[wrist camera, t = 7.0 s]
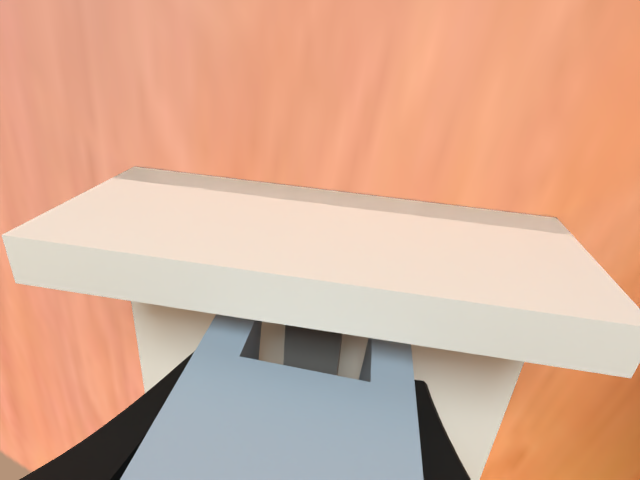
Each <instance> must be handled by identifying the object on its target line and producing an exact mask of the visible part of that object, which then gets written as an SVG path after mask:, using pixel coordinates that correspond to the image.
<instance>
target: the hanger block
mask: <svg viewBox="0 0 640 480" xmlns="http://www.w3.org/2000/svg"><path fill="white" fill-rule="evenodd" d="M261 325H262V321H257V320H251V319H244V318H238V317H232V316H225V315H219V314H216V316H215V317H214V319H213V321H212V322H211V324H210V326H209V328H208V329H207V331H206V333H205V334H204V336H203V338H202V340H201V341H200V343H199V345H198V347H197V348H196V350H195V352H194V353H193V355H192V357H191V359H190V360H189V362H188V364H187V365H186V367H185V369H184V371H183V372H182V374H181V376H180V377H179V379H178V381H177V383H176V384H175V386H174V388H173V389H172V391H171V393H170V395H169V396H168V398H167V400H166V401H165V403H164V405H163V407H162V408H161V410H160V412H159V413H158V415H157V417H156V419H155V420H154V422H153V424H152V425H151V427H150V429H149V431H148V432H147V434H146V436H145V437H144V439H143V441H142V443H141V444H140V446H139V448H138V450H137V451H136V453H135V455H134V456H133V458H132V460H131V462H130V463H129V465H128V467H127V468H126V470H125V472H124V474H123V475H122V477H121V479H120V480H424V478H423V467H422V457H421V446H420V435H419V424H418V414H417V403H416V392H415V381H414V371H413V360H412V349H411V344H406V343H400V342H393V341H387V340H380V339H374V338H368V343H367V347H366V351H365V355H364V360H363V364H362V368H361V372H360V376H359V380H357V379H352V378H347V377H342V376H337V375H332V374H327V373H321V372H316V371H311V370H306V369H301V368H296V367H291V366H286V365H281V364H276V363H271V362H266V361H261V360H259V349H260V337H261Z"/></svg>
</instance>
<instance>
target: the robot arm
mask: <svg viewBox="0 0 640 480" xmlns="http://www.w3.org/2000/svg"><path fill="white" fill-rule="evenodd" d="M194 352H195V351H194ZM194 352H193V353H194ZM193 353H192V354H190V355H189V356H188V357H187V358H186V359H185V360H183V361H182V362H181V363H180V364H179V365H178V366H177V367H175V368H174V369H173V370H172V371H171V372H170V373H169V374H167V375H166V376H165V377H164V378H163V379H162V380H160V381H159V382H158V383H157V384H156V385H155V386H153V387H152V388H151V389H150V390H149V391H147V392H146V393H145V394H144V395H143V396H141V397H140V398H139V399H138V400H137V401H135V402H134V403H133V404H132V405H130V406H129V407H128V408H127V409H125V410H124V411H123V412H121V413H120V414H119V415H117V416H116V417H115V418H113V419H112V420H111V421H109V422H108V423H107V424H106V425H104V426H103V427H102V428H100V429H99V430H97V431H96V432H95V433H93V434H92V435H90V436H89V437H88V438H86V439H85V440H83V441H82V442H80V443H79V444H77V445H76V446H74V447H73V448H71V449H70V450H68V451H67V452H65V453H63V454H62V455H60V456H59V457H57V458H56V459H54V460H52V461H50V462H49V463H47V464H45V465H44V466H42V467H40V468H38V469H37V470H35V471H33V472H32V473H30V474H28V475H27V476H25V477H23V478H21V479H20V480H120V479H121V477H122V475H123V474H124V472H125V470H126V468H127V467H128V465H129V463H130V462H131V460H132V458H133V456H134V455H135V453H136V451H137V450H138V448H139V446H140V444H141V443H142V441H143V439H144V437H145V436H146V434H147V432H148V431H149V429H150V427H151V425H152V424H153V422H154V420H155V419H156V417H157V415H158V413H159V412H160V410H161V408H162V407H163V405H164V403H165V401H166V400H167V398H168V396H169V395H170V393H171V391H172V389H173V388H174V386H175V384H176V383H177V381H178V379H179V377H180V376H181V374H182V372H183V371H184V369H185V367H186V365H187V364H188V362H189V360H190V359H191V357H192V355H193ZM414 381H415V392H416V403H417V414H418V424H419V435H420V446H421V457H422V467H423V478H424V480H471V479H470V477H469V475H468V473H467V472H466V470H465V468H464V466H463V464H462V462H461V460H460V459H459V457H458V455H457V453H456V451H455V449H454V447H453V445H452V443H451V441H450V439H449V437H448V435H447V432H446V430H445V428H444V426H443V424H442V422H441V419H440V417H439V415H438V412H437V410H436V407H435V405H434V402H433V400H432V397H431V394H430V392H429V389H428V386H427V384H426V383H425V382H424V381H422V380H414Z"/></svg>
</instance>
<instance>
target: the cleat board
mask: <svg viewBox="0 0 640 480" xmlns="http://www.w3.org/2000/svg"><path fill="white" fill-rule="evenodd" d="M2 238H3V242H4V245H5V248H6V252H7V255H8V259H9V262H10V265H11V269H12V272H13V276H14V279H15V283H18V284H25V285H31V286H38V287H44V288H50V289H57V290H63V291H70V292H76V293H83V294H89V295H96V296H102V297H109V298H115V299H122V300H128V301H131V304H132V310H133V317H134V324H135V330H136V337H137V343H138V350H139V357H140V363H141V370H142V376H143V383H144V389H145V393H146V392H147V391H149V390H150V389H151V388H152V387H153V386H155V385H156V384H157V383H158V382H159V381H160V380H162V379H163V378H164V377H165V376H166V375H167V374H169V373H170V372H171V371H172V370H173V369H174V368H175V367H177V366H178V365H179V364H180V363H181V362H182V361H183V360H185V359H186V358H187V357H188V356H189V355H190V354H192V353H193V352H194V351H195V350H196V348H197V347H198V345H199V343H200V341H201V340H202V338H203V336H204V334H205V333H206V331H207V329H208V328H209V326H210V324H211V322H212V321H213V319H214V317H215V316H216V314H219V315H225V316H232V317H238V318H244V319H251V320H257V321H262V325H261V337H260V349H259V360H261V361H266V362H271V363H276V364H281V365H286V366H291V367H296V368H301V369H306V370H311V371H316V372H321V373H327V374H332V375H337V376H342V377H347V378H352V379H357V380H359V376H360V372H361V368H362V364H363V360H364V355H365V351H366V347H367V343H368V338H374V339H380V340H387V341H393V342H400V343H406V344H411V349H412V360H413V371H414V380H422V381H424V382H425V383H426V384H427V386H428V389H429V392H430V394H431V397H432V400H433V402H434V405H435V407H436V410H437V412H438V415H439V417H440V419H441V422H442V424H443V426H444V428H445V430H446V432H447V435H448V437H449V439H450V441H451V443H452V445H453V447H454V449H455V451H456V453H457V455H458V457H459V459H460V460H461V462H462V464H463V466H464V468H465V470H466V472H467V473H468V475H469V477H470V479H471V480H480V477H481V474H482V472H483V469H484V466H485V464H486V461H487V458H488V456H489V453H490V451H491V448H492V445H493V443H494V440H495V437H496V435H497V432H498V430H499V427H500V424H501V422H502V419H503V416H504V414H505V411H506V409H507V406H508V403H509V401H510V398H511V395H512V393H513V390H514V388H515V385H516V382H517V380H518V377H519V374H520V372H521V369H522V367H523V364H524V362H529V363H535V364H542V365H548V366H555V367H561V368H568V369H574V370H581V371H587V372H594V373H600V374H607V375H613V376H620V377H626V378H632V376H633V374H634V372H635V370H636V368H637V366H638V365H639V363H640V309H639V307H638V306H637V305H636V304H635V303H634V302H633V301H632V300H631V299H630V298H629V297H628V295H627V294H626V293H625V292H624V291H623V290H622V289H621V288H620V287H619V286H618V284H617V283H616V282H615V281H614V280H613V279H612V278H611V277H610V276H609V275H608V274H607V272H606V271H605V270H604V269H603V268H602V267H601V266H600V265H599V264H598V263H597V262H596V260H595V259H594V258H593V257H592V256H591V255H590V254H589V253H588V252H587V251H586V249H585V248H584V247H583V246H582V245H581V244H580V243H579V242H578V241H577V240H576V239H575V237H574V236H573V235H572V234H571V233H570V232H569V231H568V230H567V229H566V228H565V226H564V225H563V224H562V223H561V222H560V221H559V220H558V219H557V218H555V217H546V216H538V215H530V214H522V213H513V212H505V211H497V210H489V209H480V208H472V207H464V206H456V205H447V204H439V203H431V202H423V201H414V200H406V199H398V198H390V197H381V196H373V195H365V194H357V193H348V192H340V191H332V190H324V189H315V188H307V187H299V186H291V185H282V184H274V183H266V182H258V181H249V180H241V179H233V178H225V177H216V176H208V175H200V174H192V173H183V172H175V171H167V170H159V169H150V168H142V167H132V168H130V169H129V170H127V171H125V172H123V173H121V174H119V175H117V176H115V177H113V178H111V179H109V180H107V181H105V182H103V183H101V184H99V185H98V186H96V187H94V188H92V189H90V190H88V191H86V192H84V193H82V194H80V195H78V196H76V197H74V198H72V199H70V200H68V201H67V202H65V203H63V204H61V205H59V206H57V207H55V208H53V209H51V210H49V211H47V212H45V213H43V214H41V215H39V216H37V217H35V218H34V219H32V220H30V221H28V222H26V223H24V224H22V225H20V226H18V227H16V228H14V229H12V230H10V231H8V232H6V233H4V234H3V235H2Z"/></svg>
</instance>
